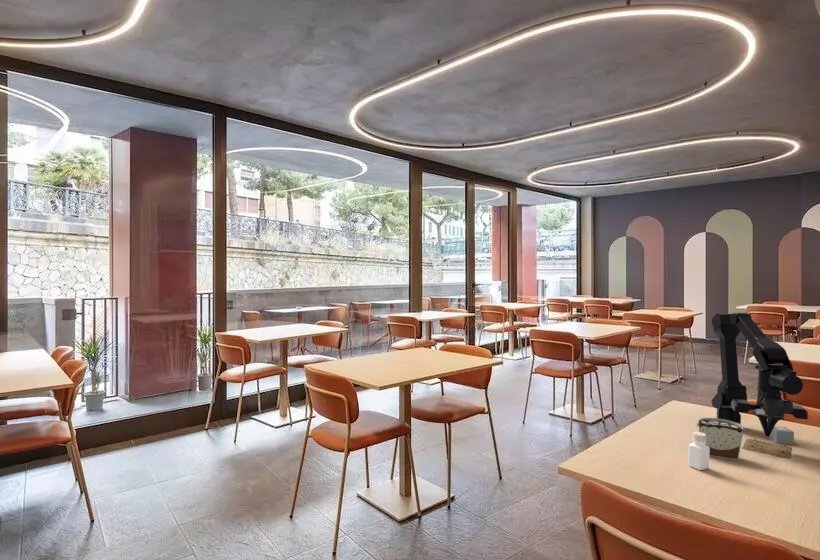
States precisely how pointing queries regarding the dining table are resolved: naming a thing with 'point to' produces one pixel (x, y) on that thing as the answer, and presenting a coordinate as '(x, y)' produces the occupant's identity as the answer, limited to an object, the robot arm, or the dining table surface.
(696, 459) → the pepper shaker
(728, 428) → the food container
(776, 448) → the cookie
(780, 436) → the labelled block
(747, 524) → the dining table surface
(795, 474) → the dining table surface
